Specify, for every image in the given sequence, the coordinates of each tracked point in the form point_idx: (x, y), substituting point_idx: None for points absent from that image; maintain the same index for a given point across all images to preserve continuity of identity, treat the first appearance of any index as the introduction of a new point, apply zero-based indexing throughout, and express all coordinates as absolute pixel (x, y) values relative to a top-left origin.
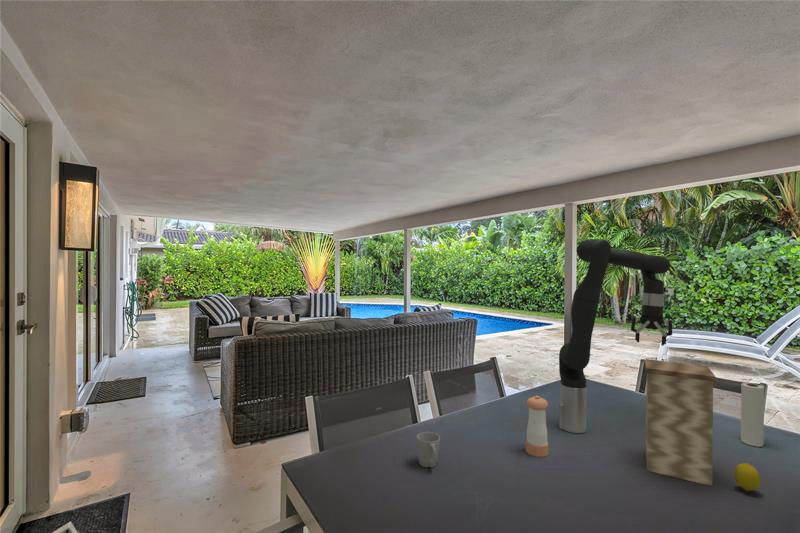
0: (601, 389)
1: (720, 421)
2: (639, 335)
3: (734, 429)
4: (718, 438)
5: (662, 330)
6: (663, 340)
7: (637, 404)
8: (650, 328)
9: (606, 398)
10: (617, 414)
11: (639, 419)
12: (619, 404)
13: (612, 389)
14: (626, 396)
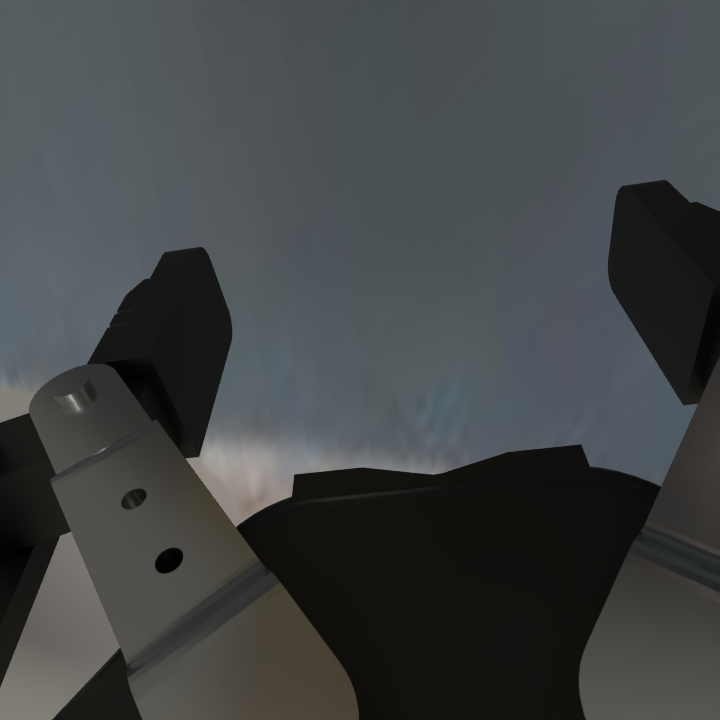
0: (600, 428)
1: (87, 316)
2: (694, 255)
3: (7, 240)
4: (4, 16)
5: (79, 464)
6: (150, 302)
7: (436, 316)
8: (466, 474)
9: (583, 311)
10: (534, 53)
11: (411, 49)
12: (521, 256)
13: None
14: (489, 400)
